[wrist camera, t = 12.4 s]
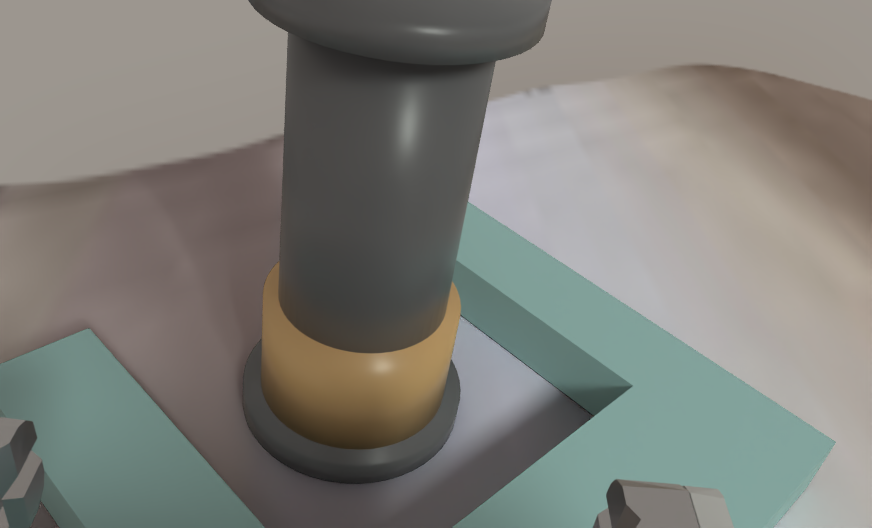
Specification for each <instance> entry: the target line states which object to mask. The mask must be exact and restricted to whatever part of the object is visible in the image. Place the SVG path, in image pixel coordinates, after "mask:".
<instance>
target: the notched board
mask: <svg viewBox="0 0 872 528" xmlns="http://www.w3.org/2000/svg"><path fill="white" fill-rule="evenodd" d="M452 281H453V283H454V285H455V287H456V289H457V291H458V294H459V297H460V302H461V314H460V315H461V316H463V317H464V318H465V319H467V320H468V321H469V322H471V323H472V324H473V325H475V326H476V327H477V328H479V329H480V330H481V331H483V332H484V333H485V334H487V335H488V336H489V337H491V338H492V339H493V340H494V341H496V342H497V343H498V344H500V345H501V346H502V347H504V348H505V349H506V350H508V351H509V352H510V353H512V354H513V355H514V356H516V357H517V358H518V359H520V360H521V361H522V362H524V363H525V364H526V365H528V366H529V367H530V368H531V369H533V370H534V371H535V372H537V373H538V374H539V375H541V376H542V377H543V378H545V379H546V380H547V381H549V382H550V383H551V384H553V385H554V386H555V387H557V388H558V389H559V390H561V391H562V392H563V393H565V394H566V395H567V396H569V397H570V398H571V399H572V400H574V401H575V402H576V403H578V404H579V405H580V406H582V407H583V408H584V409H586V410H587V411H588V412H590V413H591V414H592V415H594V417H593V418H591V419H590V420H589V421H588V422H586V423H585V424H584V425H583V426H581V427H580V428H579V429H577V430H576V431H575V432H574V433H572V434H571V435H570V436H568V437H567V438H566V439H565V440H563V441H562V442H561V443H559V444H558V445H557V446H556V447H554V448H553V449H552V450H551V451H549V452H548V453H547V454H545V455H544V456H543V457H542V458H540V459H539V460H538V461H536V462H535V463H534V464H533V465H531V466H530V467H529V468H527V469H526V470H525V471H524V472H522V473H521V474H520V475H519V476H517V477H516V478H515V479H513V480H512V481H511V482H510V483H508V484H507V485H506V486H504V487H503V488H502V489H501V490H499V491H498V492H497V493H495V494H494V495H493V496H492V497H490V498H489V499H488V500H487V501H485V502H484V503H483V504H481V505H480V506H479V507H478V508H476V509H475V510H474V511H472V512H471V513H470V514H469V515H467V516H466V517H465V518H463V519H462V520H461V521H460V522H458V523H457V524H456V525H455V526H453V527H452V528H593V526H594V523H595V520H596V517H597V515H598V513H600V512H602V511H603V510H605V509H607V508H608V504H607V498H606V493H607V491H608V489H609V486H610V484H611V483H612V482H613V481H614V480H615V479H623V480H634V481H646V482H657V483H668V484H680V485H681V486H693V487H702V488H712V489H718V490H719V491H720V492H721V493H722V495H723V496H724V499H725V502H726V505H727V508H728V511H729V514H730V517H731V520H732V523H733V526H734V528H773V527H774V526H775V525H776V524H777V523H778V521H779V520H780V519H781V518H782V517H783V515H784V514H785V513H786V512H787V511H788V509H789V508H790V507H791V506H792V505H793V503H794V502H795V501H796V500H797V499H798V497H799V496H800V495H801V494H802V493H803V491H804V490H805V489H806V488H807V487H808V485H809V483H810V482H811V480H812V479H813V477H814V476H815V474H816V473H817V471H818V469H819V468H820V466H821V465H822V463H823V462H824V460H825V459H826V457H827V456H828V454H829V452H830V451H831V449H832V448H833V446H834V445H835V443H836V442H835V441H833V440H832V439H830V438H829V437H827V436H826V435H824V434H823V433H821V432H820V431H818V430H817V429H815V428H814V427H812V426H811V425H809V424H807V423H806V422H804V421H803V420H801V419H800V418H798V417H797V416H795V415H794V414H792V413H791V412H789V411H788V410H786V409H785V408H783V407H781V406H780V405H778V404H777V403H775V402H774V401H772V400H771V399H769V398H768V397H766V396H765V395H763V394H762V393H760V392H759V391H757V390H755V389H754V388H752V387H751V386H749V385H748V384H746V383H745V382H743V381H742V380H740V379H739V378H737V377H736V376H734V375H732V374H731V373H729V372H728V371H726V370H725V369H723V368H722V367H720V366H719V365H717V364H716V363H714V362H713V361H711V360H710V359H708V358H706V357H705V356H703V355H702V354H700V353H699V352H697V351H696V350H694V349H693V348H691V347H690V346H688V345H687V344H685V343H684V342H682V341H680V340H679V339H677V338H676V337H674V336H673V335H671V334H670V333H668V332H667V331H665V330H664V329H662V328H661V327H659V326H658V325H656V324H654V323H653V322H651V321H650V320H648V319H647V318H645V317H644V316H642V315H641V314H639V313H638V312H636V311H635V310H633V309H632V308H630V307H628V306H627V305H625V304H624V303H622V302H621V301H619V300H618V299H616V298H615V297H613V296H612V295H610V294H609V293H607V292H605V291H604V290H602V289H601V288H599V287H598V286H596V285H595V284H593V283H592V282H590V281H589V280H587V279H586V278H584V277H583V276H581V275H579V274H578V273H576V272H575V271H573V270H572V269H570V268H569V267H567V266H566V265H564V264H563V263H561V262H560V261H558V260H557V259H555V258H553V257H552V256H550V255H549V254H547V253H546V252H544V251H543V250H541V249H540V248H538V247H537V246H535V245H534V244H532V243H531V242H529V241H527V240H526V239H524V238H523V237H521V236H520V235H518V234H517V233H515V232H514V231H512V230H511V229H509V228H508V227H506V226H505V225H503V224H501V223H500V222H498V221H497V220H495V219H494V218H492V217H491V216H489V215H488V214H486V213H485V212H483V211H482V210H480V209H478V208H477V207H475V206H474V205H472V204H471V203H469V202H468V203H467V208H466V214H465V219H464V224H463V229H462V234H461V239H460V244H459V249H458V254H457V259H456V264H455V269H454V274H453V279H452ZM0 417H4V418H12V419H20V420H27V421H32V422H33V424H34V427H35V431H36V435H37V440H36V442H35V444H34V446H33V448H32V449H31V450H32V451H33V452H34V453H35V454H36V455H38V456H39V457H40V458H41V459H42V462H43V467H44V489H43V493H42V497H41V501H42V503H43V504H44V506H45V507H46V509H47V510H48V512H49V513H50V515H51V516H52V517H53V519H54V520H55V522H56V523H57V525H58V526H59V528H265V527H264V526H263V525H262V524H261V523H260V521H259V520H258V519H257V518H256V517H255V516H254V515H253V513H252V512H251V511H250V510H249V509H248V508H247V507H246V506H245V504H244V503H243V502H242V501H241V500H240V499H239V498H238V496H237V495H236V494H235V493H234V492H233V491H232V490H231V489H230V487H229V486H228V485H227V484H226V483H225V482H224V481H223V479H222V478H221V477H220V476H219V475H218V474H217V473H216V472H215V470H214V469H213V468H212V467H211V466H210V465H209V464H208V462H207V461H206V460H205V459H204V458H203V457H202V456H201V454H200V453H199V452H198V451H197V450H196V449H195V448H194V447H193V445H192V444H191V443H190V442H189V441H188V440H187V439H186V437H185V436H184V435H183V434H182V433H181V432H180V431H179V430H178V428H177V427H176V426H175V425H174V424H173V423H172V422H171V420H170V419H169V418H168V417H167V416H166V415H165V414H164V412H163V411H162V410H161V409H160V408H159V407H158V406H157V405H156V403H155V402H154V401H153V400H152V399H151V398H150V397H149V395H148V394H147V393H146V392H145V391H144V390H143V389H142V388H141V386H140V385H139V384H138V383H137V382H136V381H135V380H134V378H133V377H132V376H131V375H130V374H129V373H128V372H127V371H126V369H125V368H124V367H123V366H122V365H121V364H120V363H119V361H118V360H117V359H116V358H115V357H114V356H113V355H112V353H111V352H110V351H109V350H108V349H107V348H106V347H105V346H104V344H103V343H102V342H101V341H100V340H99V339H98V338H97V336H96V335H95V334H94V333H93V332H92V331H91V330H90V329H89V328H88V329H85V330H83V331H80V332H78V333H75V334H73V335H70V336H68V337H66V338H63V339H61V340H58V341H56V342H53V343H51V344H48V345H46V346H43V347H41V348H38V349H36V350H33V351H31V352H29V353H26V354H24V355H21V356H19V357H16V358H14V359H11V360H9V361H6V362H4V363H1V364H0Z"/></svg>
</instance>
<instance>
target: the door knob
mask: <svg viewBox="0 0 872 528" xmlns="http://www.w3.org/2000/svg"><path fill="white" fill-rule="evenodd" d="M551 1H552V0H249V2H250V3H251V5H252V6H253V7H254V9H255V10H256V11H257V12H259V13H260V14H261V15H262V16H263V17H264V18H266V19H267V20H269V21H270V22H271V23H273V24H274V25H276V26H278V27H280V28H282V29H284V30H285V31H287V32H288V48H287V74H286V75H287V76H286V101H285V127H284V153H283V179H282V206H281V232H280V258H279V262H278V263H277V264H276V265H275V266H274V267H273V268H272V270H271V271H270V273H269V274H268V276H267V278H266V281H265V283H264V289H263V314H262V339H261V340H260V341H259V342H258V344H257V345H256V346H255V347H254V349H253V350H252V352H251V354H250V356H249V358H248V360H247V363H246V366H245V370H244V376H243V407H244V412H245V417H246V420H247V423H248V425H249V428H250V429H251V431H252V433H253V435H254V436H255V438H256V439H257V440H258V442H259V443H260V444H261V445H262V447H263V448H264V449H266V450H267V451H268V452H269V453H270V454H271V455H272V456H273V457H275V458H276V459H277V460H279V461H280V462H282V463H283V464H285V465H287V466H288V467H290V468H292V469H294V470H296V471H298V472H301V473H303V474H306V475H309V476H311V477H315V478H319V479H322V480H327V481H333V482H340V483H371V482H377V481H383V480H388V479H391V478H395V477H398V476H401V475H403V474H406V473H408V472H410V471H413V470H414V469H416V468H418V467H420V466H421V465H423V464H425V463H426V462H427V461H428V460H430V459H431V458H432V457H433V456H435V454H436V453H437V452H438V451H439V450H440V449H441V448H442V447H443V445H444V444H445V442H446V441H447V439H448V438H449V436H450V433H451V431H452V429H453V426H454V422H455V418H456V414H457V409H458V405H459V401H460V382H459V377H458V374H457V370H456V368H455V366H454V364H453V362H452V360H451V357H452V352H453V347H454V343H455V338H456V333H457V328H458V324H459V319H460V314H461V302H460V297H459V294H458V291H457V289H456V287H455V285H454V283H453V281H452V279H453V274H454V269H455V264H456V259H457V254H458V249H459V244H460V239H461V234H462V229H463V224H464V219H465V214H466V208H467V203H468V198H469V193H470V188H471V183H472V178H473V173H474V168H475V163H476V158H477V153H478V148H479V143H480V138H481V133H482V128H483V123H484V117H485V112H486V107H487V102H488V97H489V92H490V87H491V82H492V77H493V72H494V67H495V62H496V61H497V60H502V59H506V58H510V57H513V56H516V55H518V54H521V53H523V52H525V51H527V50H529V49H531V48H532V47H533V46H535V45H536V44H537V43H538V42H539V41H540V39H541V38H542V37H543V34H544V31H545V27H546V22H547V18H548V13H549V9H550V4H551Z"/></svg>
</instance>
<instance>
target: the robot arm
mask: <svg viewBox="0 0 872 528" xmlns="http://www.w3.org/2000/svg"><path fill="white" fill-rule="evenodd" d="M36 440H37V435H36V431H35V427H34V424H33V422H32V421H27V420H20V419H12V418H4V417H0V528H29V527H30V526H31V524H32V522H33V520H34V518H35V515H36V513H37V511H38V509H39V505H40V501H41V497H42V493H43V489H44V467H43V462H42V459H41V458H40V457H39V456H38V455H36V454H35V453H34V452H33V451H32V450H31V449H32V448H33V446H34V444H35V442H36ZM606 498H607V504H608V508H607V509H605V510H603V511H602V512H600V513H598V515H597V517H596V520H595V523H594V526H593V528H734V526H733V523H732V520H731V517H730V514H729V511H728V508H727V505H726V502H725V499H724V496H723V495H722V493H721V492H720V491H719V490H718V489H712V488H702V487H693V486H681V485H680V484H668V483H657V482H646V481H634V480H623V479H615V480H614V481H613V482H612V483H611V484H610V486H609V489H608V491H607V493H606Z"/></svg>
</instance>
